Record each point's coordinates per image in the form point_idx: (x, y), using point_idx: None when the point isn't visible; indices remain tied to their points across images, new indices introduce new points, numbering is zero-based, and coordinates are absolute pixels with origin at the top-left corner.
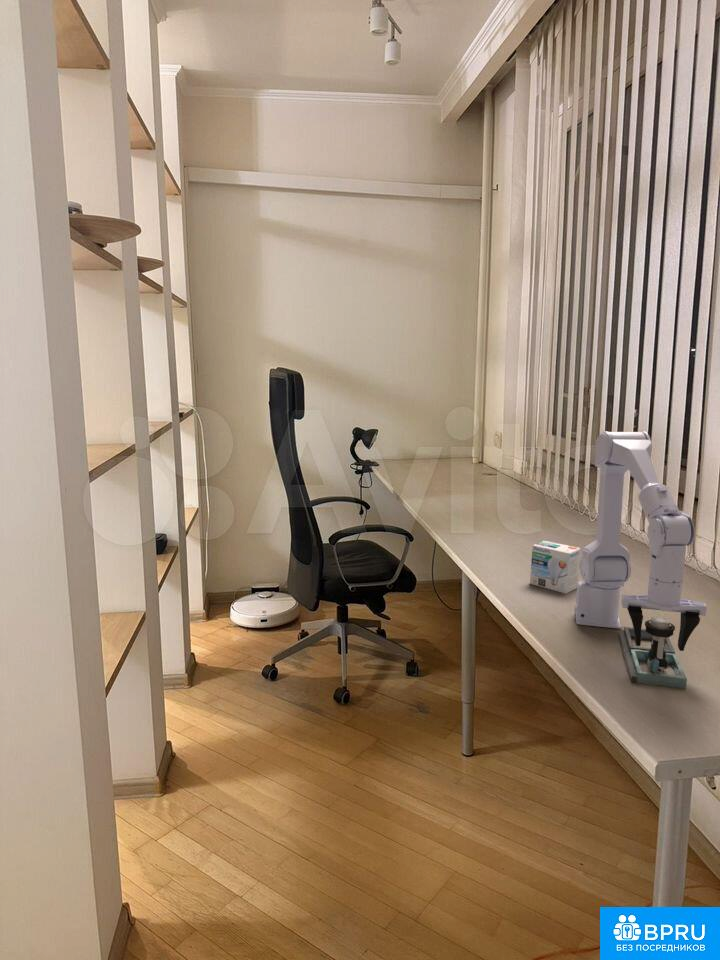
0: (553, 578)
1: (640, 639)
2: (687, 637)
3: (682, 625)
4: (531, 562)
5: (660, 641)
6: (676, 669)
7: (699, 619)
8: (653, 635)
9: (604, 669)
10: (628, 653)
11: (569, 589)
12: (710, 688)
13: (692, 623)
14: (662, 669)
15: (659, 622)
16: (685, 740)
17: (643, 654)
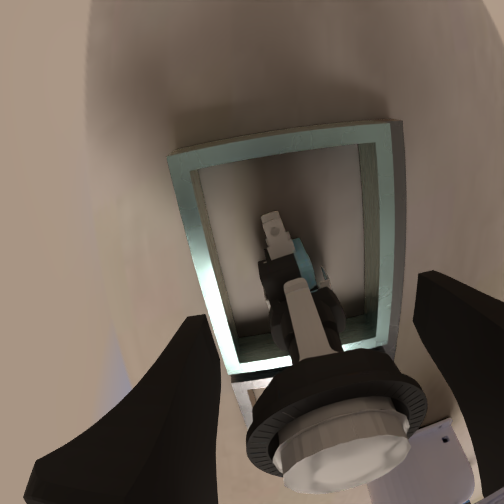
0: None
1: (444, 287)
2: (151, 374)
3: (195, 463)
4: (469, 501)
5: (320, 341)
6: (219, 276)
7: (25, 498)
8: (376, 351)
9: (462, 197)
10: (389, 324)
11: None
12: (94, 205)
13: (79, 467)
14: (277, 235)
15: (365, 446)
16: None
17: (342, 337)
